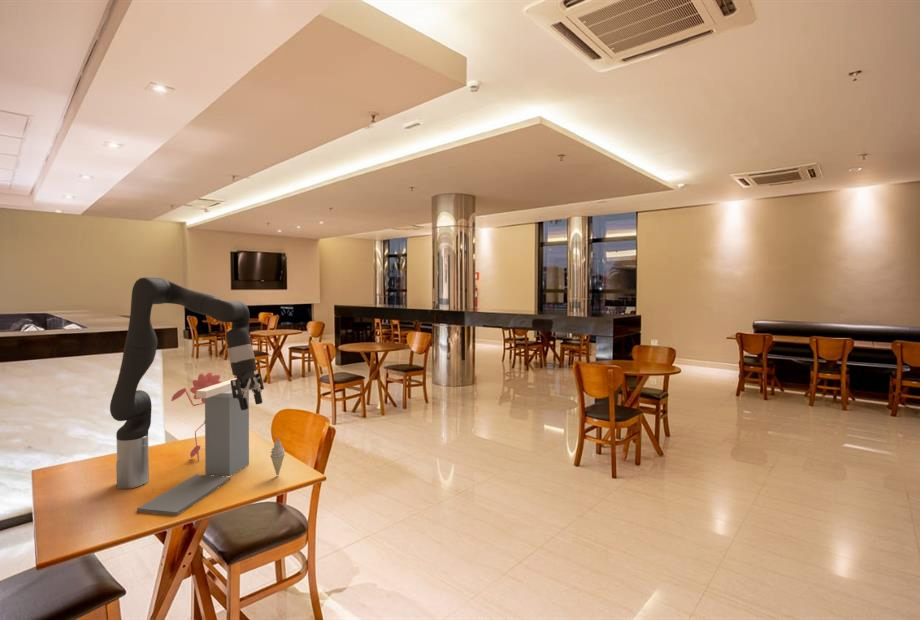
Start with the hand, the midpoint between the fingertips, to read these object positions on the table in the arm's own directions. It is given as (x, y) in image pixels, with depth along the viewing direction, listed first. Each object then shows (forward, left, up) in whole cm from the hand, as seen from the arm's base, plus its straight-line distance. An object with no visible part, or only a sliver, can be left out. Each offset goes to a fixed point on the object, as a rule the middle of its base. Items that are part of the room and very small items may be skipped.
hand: (252, 406), depth 150 cm
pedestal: (-4, +31, -32) cm, 44 cm away
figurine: (-9, +53, -32) cm, 62 cm away
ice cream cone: (+11, +15, -32) cm, 37 cm away
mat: (-18, +15, -32) cm, 39 cm away
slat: (-6, +28, 0) cm, 29 cm away
